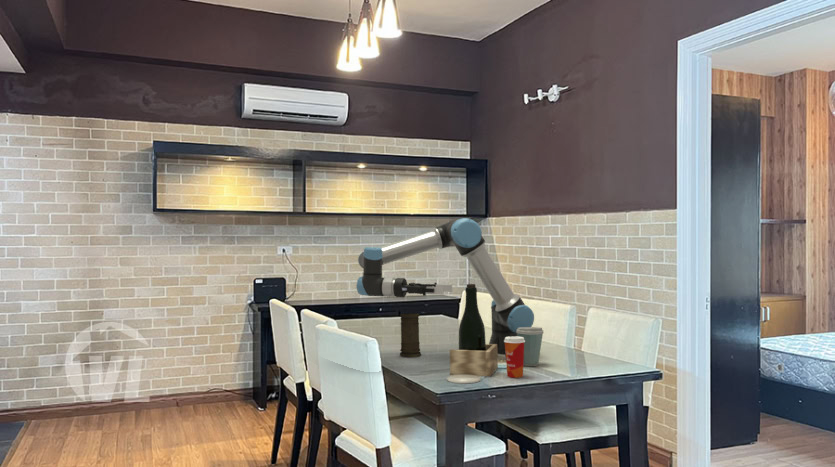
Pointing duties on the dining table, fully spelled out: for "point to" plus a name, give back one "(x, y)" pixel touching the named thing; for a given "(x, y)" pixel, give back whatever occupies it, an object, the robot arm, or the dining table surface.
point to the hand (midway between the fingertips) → (447, 289)
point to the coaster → (463, 378)
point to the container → (410, 335)
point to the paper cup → (514, 356)
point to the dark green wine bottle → (471, 323)
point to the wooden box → (474, 361)
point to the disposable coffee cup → (531, 344)
